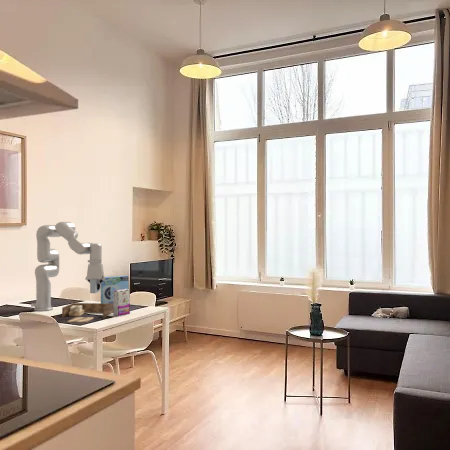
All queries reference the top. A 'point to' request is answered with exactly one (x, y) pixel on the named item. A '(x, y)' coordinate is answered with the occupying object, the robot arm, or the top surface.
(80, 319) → the mat
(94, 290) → the pale blue block
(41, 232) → the robot arm
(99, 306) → the rack
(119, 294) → the candy bar box
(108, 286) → the blue cardboard box
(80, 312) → the oak offcut
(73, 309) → the birch offcut
